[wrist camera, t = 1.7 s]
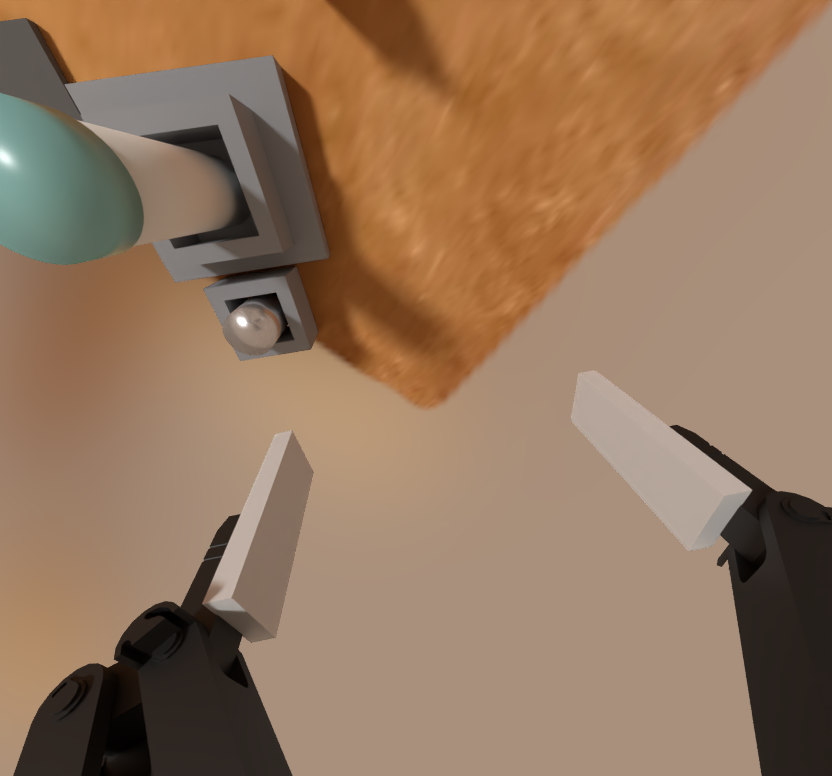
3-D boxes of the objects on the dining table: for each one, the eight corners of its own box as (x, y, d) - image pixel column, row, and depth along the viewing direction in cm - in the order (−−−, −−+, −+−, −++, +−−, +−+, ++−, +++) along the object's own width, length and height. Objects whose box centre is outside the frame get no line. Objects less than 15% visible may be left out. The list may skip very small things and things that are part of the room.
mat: (-105, 41, 19) (-118, 37, 19) (34, 22, 20) (25, 18, 19) (14, 202, 24) (6, 202, 24) (125, 186, 24) (119, 185, 24)
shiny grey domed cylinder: (237, 297, 28) (213, 314, 24) (280, 290, 28) (263, 306, 24) (255, 336, 30) (236, 358, 26) (295, 330, 30) (281, 351, 26)
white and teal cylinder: (168, 156, 22) (-142, 96, 9) (237, 146, 22) (32, 72, 9) (204, 233, 25) (9, 273, 12) (265, 224, 25) (140, 253, 12)
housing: (88, 93, 22) (1, 61, 16) (280, 66, 22) (251, 27, 17) (224, 347, 33) (196, 374, 28) (349, 327, 33) (344, 350, 28)
